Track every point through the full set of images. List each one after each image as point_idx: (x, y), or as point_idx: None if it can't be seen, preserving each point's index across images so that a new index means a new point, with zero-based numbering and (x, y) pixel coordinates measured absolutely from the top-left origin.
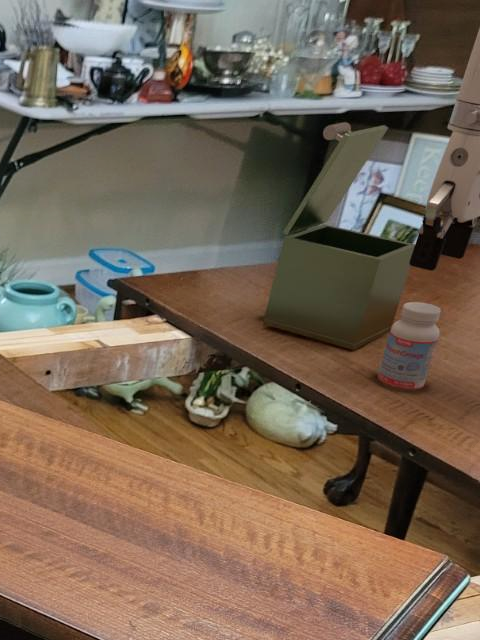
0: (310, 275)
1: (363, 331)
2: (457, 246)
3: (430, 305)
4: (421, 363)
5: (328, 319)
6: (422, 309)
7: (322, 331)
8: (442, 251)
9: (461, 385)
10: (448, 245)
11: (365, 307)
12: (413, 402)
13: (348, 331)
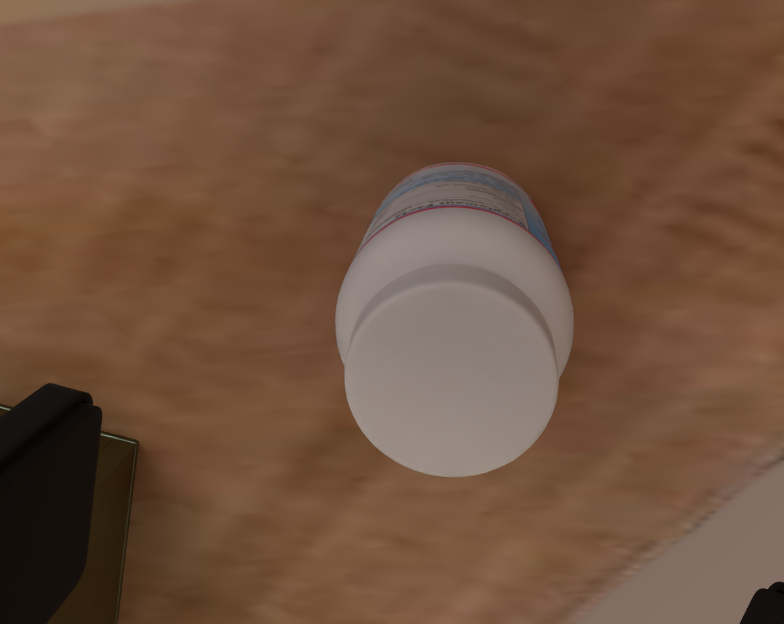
0: None
1: None
2: (44, 508)
3: (380, 349)
4: (536, 220)
5: (96, 581)
6: (491, 380)
7: (118, 557)
8: (74, 560)
9: (310, 22)
10: (44, 575)
11: None
12: (659, 173)
13: (115, 496)
